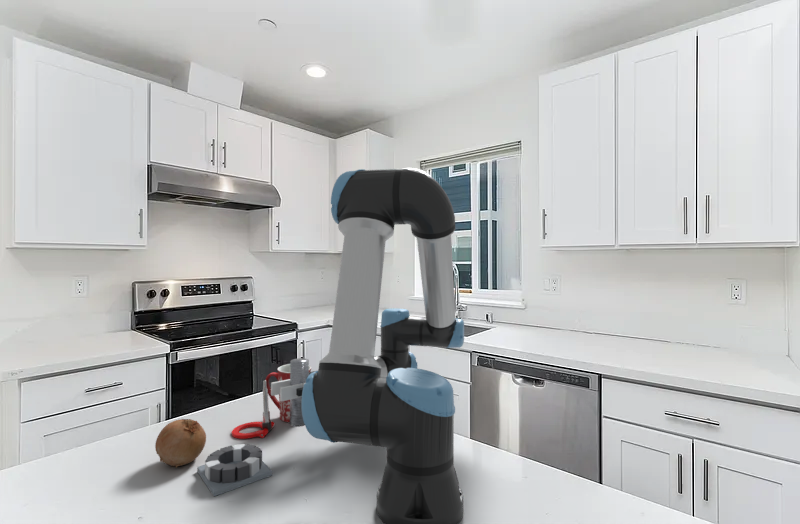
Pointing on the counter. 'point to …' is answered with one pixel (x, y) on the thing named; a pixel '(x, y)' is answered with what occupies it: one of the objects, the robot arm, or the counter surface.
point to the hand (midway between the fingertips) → (276, 391)
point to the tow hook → (265, 425)
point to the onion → (180, 442)
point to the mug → (281, 405)
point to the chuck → (233, 468)
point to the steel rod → (297, 376)
